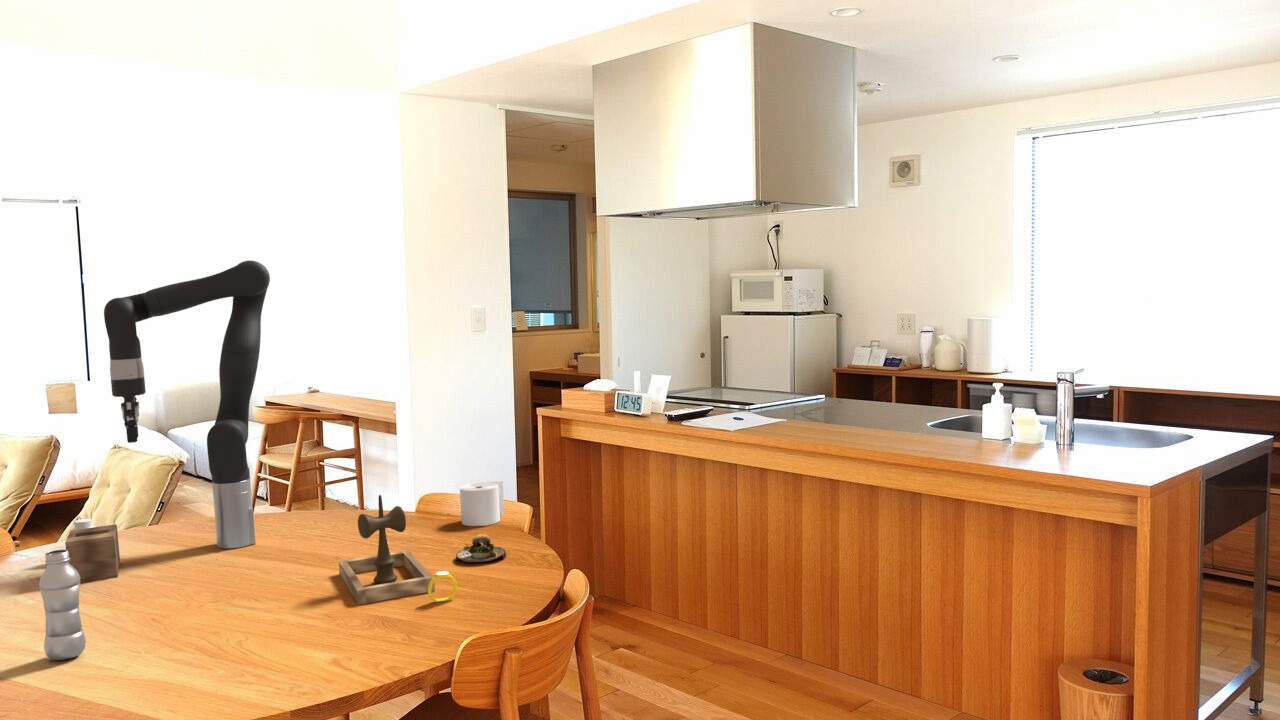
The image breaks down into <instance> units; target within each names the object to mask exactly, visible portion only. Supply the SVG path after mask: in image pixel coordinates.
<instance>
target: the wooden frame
mask: <svg viewBox="0 0 1280 720" xmlns="http://www.w3.org/2000/svg"><path fill="white" fill-rule="evenodd" d="M377 555H378V554H376V555H371V556H370V555H369V556H365V557H356V558H350V559H345V560H339V561H338V567H339V569H338V570H339V575H340V577H341V579H342V580H343V582H344V583H345V585H346V586H347V588H348V590H349V592H350V594H351V596H353V598H354V600H355V601H356V603H357V605H363V604H368V603H369V604H370V603H374V602H382V601H385V600H391V599H397V598H402V597H408V596H409V597H410V596H414V595H419V594H425V593H428V585H429V582H430V581H431V579H432V578H433V577H434V575H432V574H431V572H430V571H429V570H428V569H427V568H426V566H424V564H422V563H421V561H419V560H418V559H417V557H416V556H414V554H413V553H412V552H411V551H410V550H402V551H396V552H390V555H391V557H392V558H393V559H394V560H395V561H394V563H393V568H395V567H402V566H404V567H405V568H406V569H407V570H408V572H409V573H410V574H411V575H412V576H413V578H410V579H405V580H403V579H402V580H398V581H397V580H396V581H394V582H391V583H386V584H375V585H368V586H364V585H363V584H362V583H361V581H360V579H359V578H358V576H357V575H356V574H359V573H365V572H372V571H377V568H376V566H375V565H374V561H375V560H376V559H377ZM435 586H436V585H435V582H434V583H433V585H432V590H431V593H433V592H435V591H436V588H435Z"/></svg>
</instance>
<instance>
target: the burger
mask: <svg viewBox="0 0 1280 720" xmlns="http://www.w3.org/2000/svg"><path fill="white" fill-rule="evenodd" d="M491 541H492V540H491V537H490V536H489V535H488V534H485V533H480V534H477V535H475V536H474V537H473V539H472V542H471V544H472V545H470V546H469V545H468V544H467V543H465V546H463V549H462V550H460V551H458V552H457V553H456V554H455V562H457V561H458V560H461V561H464V562H468V563H483V562H484V563H485V562H488V561H490V562H491V561H493V560H497V559H499V558H500V557H502V558H501V560H503V561H504V560H505V559H506V558H507V551H506V549H505V548H503V547H499V546H495V544H494V543H491Z"/></svg>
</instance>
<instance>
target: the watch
mask: <svg viewBox="0 0 1280 720" xmlns="http://www.w3.org/2000/svg"><path fill="white" fill-rule="evenodd" d="M446 578H450V579H451V580H452V582H453V583H452V584H453V589H452V591H451V593H450V594H449V595H448V596H447V597H442V598H435V597H434V596H433V592H431V590H432V585H433V583H434V584H435V582H436V581H437V580H439V579H446ZM457 592H458V582H457V580H456V578H455V577H453V576H452V575H451V574H450V572H449V571H444V570H443V571H442V570H441V571H437V572H435V575H433V578H432V579H431V581H430V582H429V585H428V592H427V593H428V596H429V597H430V598H431V599H432V600H433V601H434V602H436V603H441V602H449V601H452V600H453V598H454V597H455V596H456V594H457Z"/></svg>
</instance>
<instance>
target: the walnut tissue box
mask: <svg viewBox="0 0 1280 720" xmlns="http://www.w3.org/2000/svg"><path fill="white" fill-rule="evenodd" d="M64 544H65V550H68V552H69V557H70V560H69V561H68V562H69V564H70V565H71V566H73V567H74V568H75V569H76V570H77V571H78V573H79V575H80V584H82V583H88V582H94V581H100V580H106V579H107V580H108V579H115V578H118V577H119V573H120V572H119V571H120V568H119V567H120V566H121V557H120V545H119V535H118V525H117V524H109V525H101V526H95V527H93V528H85V529H77V530H73V529H71V530H69V532H68V535H67V538H66V539H65V543H64Z"/></svg>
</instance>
